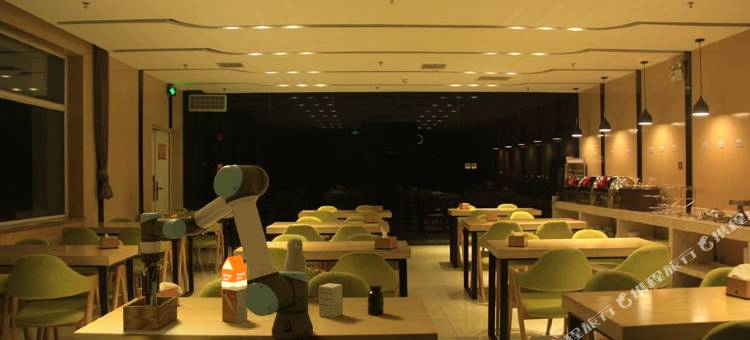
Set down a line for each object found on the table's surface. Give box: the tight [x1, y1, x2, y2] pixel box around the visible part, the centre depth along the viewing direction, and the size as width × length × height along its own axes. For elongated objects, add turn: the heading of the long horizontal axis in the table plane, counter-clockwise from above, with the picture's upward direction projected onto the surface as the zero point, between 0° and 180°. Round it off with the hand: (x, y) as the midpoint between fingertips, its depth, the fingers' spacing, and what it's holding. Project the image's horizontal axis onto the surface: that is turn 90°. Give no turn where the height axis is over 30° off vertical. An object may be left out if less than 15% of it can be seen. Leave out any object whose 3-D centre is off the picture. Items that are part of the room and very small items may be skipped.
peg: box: [151, 281, 156, 306], centre depth 229 cm, size 4×4×14 cm
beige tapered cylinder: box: [283, 237, 307, 274], centre depth 278 cm, size 10×10×28 cm
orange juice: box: [221, 254, 248, 290], centre depth 275 cm, size 8×9×20 cm
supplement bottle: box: [367, 283, 385, 316], centre depth 244 cm, size 7×7×12 cm
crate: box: [122, 295, 178, 331], centre depth 229 cm, size 14×18×9 cm
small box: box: [221, 286, 248, 324], centre depth 235 cm, size 8×6×13 cm
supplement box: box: [318, 282, 344, 319], centre depth 241 cm, size 7×7×13 cm
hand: (151, 310), depth 229 cm, fingers closed on peg, 4 cm apart
